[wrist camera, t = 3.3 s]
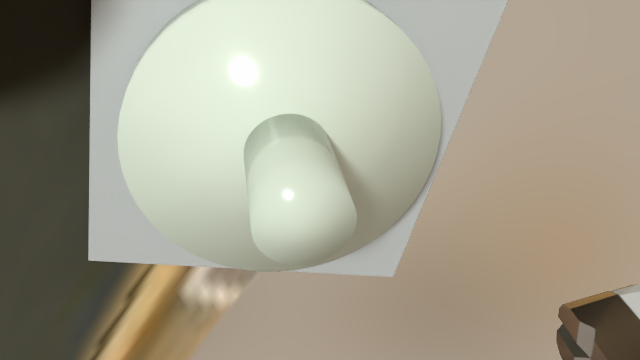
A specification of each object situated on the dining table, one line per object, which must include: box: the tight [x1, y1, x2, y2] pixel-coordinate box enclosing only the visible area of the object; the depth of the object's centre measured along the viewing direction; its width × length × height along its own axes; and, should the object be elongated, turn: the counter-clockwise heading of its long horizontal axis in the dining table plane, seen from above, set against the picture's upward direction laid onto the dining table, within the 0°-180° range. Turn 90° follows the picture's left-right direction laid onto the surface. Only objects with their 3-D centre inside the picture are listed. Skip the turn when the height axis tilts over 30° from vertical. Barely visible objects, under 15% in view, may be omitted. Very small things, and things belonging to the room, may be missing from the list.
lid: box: [117, 0, 441, 272], centre depth 17 cm, size 11×11×5 cm
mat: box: [89, 0, 508, 277], centre depth 19 cm, size 13×13×1 cm
